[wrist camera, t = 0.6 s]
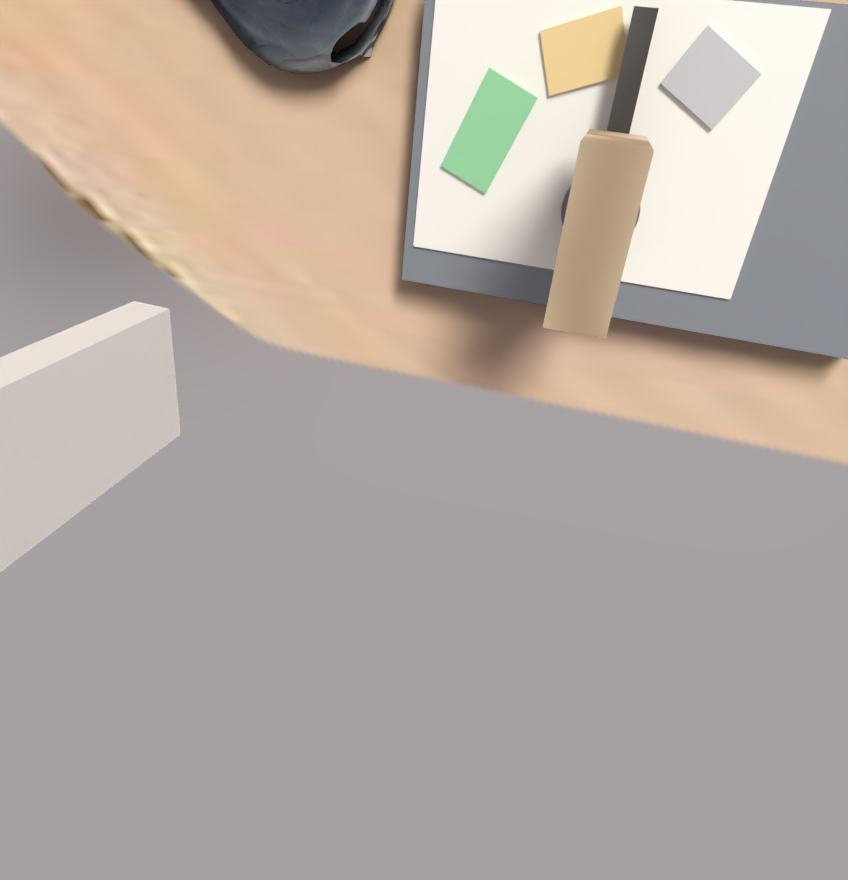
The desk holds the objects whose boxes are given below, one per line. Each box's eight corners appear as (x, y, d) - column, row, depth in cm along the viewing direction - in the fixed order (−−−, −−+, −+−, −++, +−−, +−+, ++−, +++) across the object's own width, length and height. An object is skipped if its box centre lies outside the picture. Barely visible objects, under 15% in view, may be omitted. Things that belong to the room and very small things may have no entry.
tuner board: (412, 270, 35) (399, 281, 33) (439, -26, 28) (425, -34, 26) (853, 347, 31) (869, 365, 29) (1003, 25, 24) (1037, 20, 22)
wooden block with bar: (552, 265, 30) (528, 324, 23) (603, 6, 25) (595, -29, 18) (620, 276, 30) (620, 342, 22) (688, 14, 25) (717, -19, 17)
